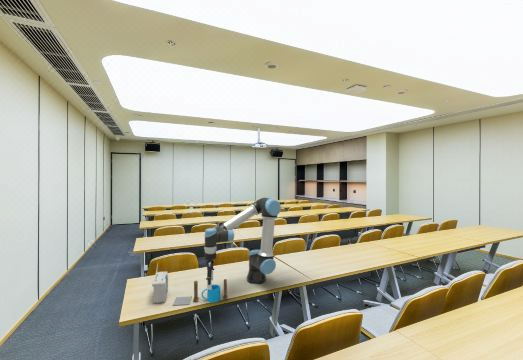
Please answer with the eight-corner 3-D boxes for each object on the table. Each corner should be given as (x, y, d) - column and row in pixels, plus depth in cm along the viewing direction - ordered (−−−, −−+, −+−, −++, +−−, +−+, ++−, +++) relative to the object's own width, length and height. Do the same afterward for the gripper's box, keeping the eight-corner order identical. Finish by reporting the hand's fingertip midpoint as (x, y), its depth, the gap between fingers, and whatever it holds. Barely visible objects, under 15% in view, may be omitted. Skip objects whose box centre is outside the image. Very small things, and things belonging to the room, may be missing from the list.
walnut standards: (227, 297, 166) (227, 278, 166) (227, 300, 162) (227, 280, 162) (194, 299, 164) (193, 280, 163) (193, 302, 160) (193, 282, 159)
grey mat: (191, 297, 166) (191, 296, 166) (189, 304, 156) (189, 304, 156) (176, 298, 165) (176, 297, 165) (172, 305, 155) (172, 305, 155)
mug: (220, 296, 168) (219, 284, 168) (220, 302, 160) (219, 289, 160) (201, 297, 166) (201, 285, 166) (200, 303, 158) (200, 291, 158)
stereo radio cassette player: (165, 303, 159) (165, 272, 158) (151, 304, 156) (151, 273, 156) (168, 288, 179) (168, 261, 178) (156, 290, 176) (155, 262, 176)
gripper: (206, 247, 174) (206, 277, 174) (202, 258, 149) (202, 293, 150) (217, 246, 175) (217, 276, 175) (215, 258, 150) (214, 293, 151)
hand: (210, 284), depth 163 cm, fingers open, 13 cm apart
